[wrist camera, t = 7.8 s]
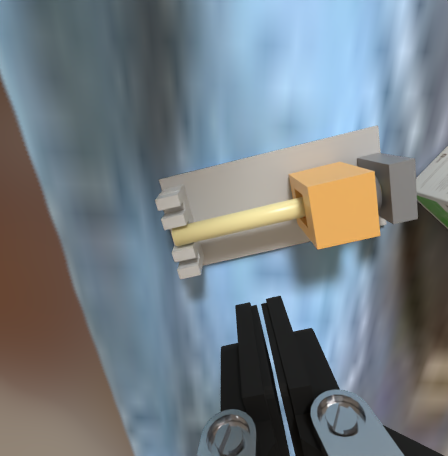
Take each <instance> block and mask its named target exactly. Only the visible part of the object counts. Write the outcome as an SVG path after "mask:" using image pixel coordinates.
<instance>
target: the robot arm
mask: <svg viewBox="0 0 448 456" xmlns="http://www.w3.org/2000/svg"><path fill="white" fill-rule="evenodd" d="M266 301H267V303H264V304H261V306H262V310H263V315H264V319H265V324H266V328H267V333H268V338H269V342H270V347H271V351H272V356H273V360H274V365H275V369H276V374H277V379H278V383H279V388H280V392H281V396H282V401H283V405H284V409H285V413H286V417H287V422H288V426H289V430H290V434H291V438H292V443H293V447H294V451H295V455H296V456H444V455H442V454H440V453H438V452H436V451H434V450H432V449H430V448H428V447H426V446H424V445H422V444H420V443H418V442H416V441H414V440H412V439H410V438H408V437H406V436H404V435H402V434H400V433H398V432H396V431H394V430H392V429H390V428H388V427H386V426H384V425H382V424H381V422H380V421H379V420H378V418H377V417H376V416H375V414H374V413H373V411H372V410H371V409H370V407H369V406H368V405H367V403H366V402H365V401H364V400H363V399H362V398H360V397H359V396H357V395H356V394H354V393H352V392H348V391H345V390H340V389H339V387H338V385H337V382H336V380H335V378H334V376H333V373H332V371H331V369H330V367H329V364H328V362H327V360H326V358H325V355H324V353H323V351H322V349H321V346H320V344H319V342H318V340H317V337H316V335H315V333H314V331H313V329H312V328H309V329H304V330H299V331H294V332H293V330H292V327H291V324H290V322H289V319H288V316H287V313H286V310H285V307H284V304H283V301H282V298H281V296H277V297H272V298H268V299H266ZM235 307H236V321H237V334H238V343H236V344H231V345H226V346H222V347H221V412H220V413H218V414H216V415H215V416H213V417H212V418H211V419H210V420H209V421H208V422H207V424H206V425H205V427H204V429H203V431H202V434H201V438H200V443H199V447H198V452H197V456H290V454H289V449H288V445H287V440H286V435H285V430H284V425H283V420H282V415H281V411H280V406H279V401H278V396H277V391H276V386H275V381H274V376H273V372H272V367H271V363H270V359H269V354H268V350H267V346H266V342H265V338H264V334H263V330H262V325H261V321H260V317H259V313H258V309H257V305H254V306H251V304H250V302H249V303H244V304H239V305H236V306H235Z"/></svg>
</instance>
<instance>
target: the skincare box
mask: <svg viewBox="0 0 448 456" xmlns="http://www.w3.org/2000/svg"><path fill="white" fill-rule="evenodd" d="M416 190H417V201H418V202H419V203H420V204H421V205H422V206H423V207H424V208H425V209H426V210H428V211H429V212H430V213H431V214H432V215H433V216H434V217H435V218H436V219H437V220H439V221H440V222H441V223H442V224H443V225H444V226H445V227H446V228H447V229H448V146H447V147H446V148H445V149H444V150H443V151H442V152H441V153H440V154H439V155H438V156H437V157H436V158H435V159H434V160H433V161H432V162H431V163H430V164H429V166H428V167H427V168H426V169H425V170H424V171H423V172H422V173H421V174H420V175H419V176H418V177H417V178H416Z"/></svg>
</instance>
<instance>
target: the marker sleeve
mask: <svg viewBox="0 0 448 456" xmlns="http://www.w3.org/2000/svg"><path fill="white" fill-rule="evenodd" d="M289 179H290V185H291V191H292V196H293V199H295V198H299V197H303V202H304V208H305V214H306V217H302V218H298V219H297V224H298V225H299V227H300V228H301V229H302V230H303V232H304V233H305V234H306V236H307V237H308V238H309V239H310V241H311V242H312V243H313V245H314V246H315V247H316V248H317V250H318V249H323V248H327V247H332V246H336V245H341V244H345V243H350V242H354V241H359V240H363V239H368V238H372V237H377V236H380V226H379V215H378V204H377V193H376V182H375V171H372V170H368V169H365V168H361V167H357V166H354V165H350V164H347V163H343V162H336V163H332V164H328V165H324V166H320V167H316V168H312V169H308V170H303V171H299V172H295V173H291V174H289Z"/></svg>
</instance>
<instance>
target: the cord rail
mask: <svg viewBox="0 0 448 456" xmlns="http://www.w3.org/2000/svg"><path fill="white" fill-rule="evenodd" d="M336 162H343V163H347V164H350V165H354V166H357V167H361V168H365V169H368V170H372V171H375V182H376V193H377V204H378V215H379V226H382V225H386V220H387V221H389V222H390V223H392V224H397V223H401V222H406V221H410V220H414V219H418V210H417V190H416V169H415V158H408V157H402V156H395V155H389V154H382V153H380V142H379V130H378V126H372V127H368V128H364V129H360V130H356V131H352V132H348V133H344V134H340V135H336V136H332V137H328V138H324V139H320V140H316V141H312V142H308V143H304V144H300V145H296V146H292V147H288V148H284V149H280V150H276V151H272V152H268V153H264V154H260V155H255V156H251V157H247V158H243V159H239V160H235V161H231V162H227V163H223V164H219V165H215V166H211V167H207V168H203V169H199V170H195V171H191V172H187V173H183V174H179V175H175V176H171V177H167V178H163V179H159V182H160V185H161V189H162V192H161V193H160V194H159V196H158V197H157V198H156V199H155V202H156V205H157V208H158V211H160V210H164V213H165V215H164V216H163V218H162V219H161V221H162V224H163V227H164V230H167V229H170V232H171V235H172V238H173V242H174V245H175V246H174V248H173V251H172V255H173V258H174V261H175V262H178V261H180V263H179V266H178V269H177V271H178V274H179V277H180V279H185V278H189V277H194V276H198V275H201V272H202V267H203V266H204V265H208V264H212V263H217V262H221V261H226V260H230V259H235V258H239V257H244V256H248V255H253V254H257V253H261V252H266V251H270V250H275V249H279V248H284V247H288V246H293V245H297V244H302V243H306V242H310V239H309V238H308V237H307V236H306V234H305V233H304V232H303V230H302V229H301V228H300V227H299V225H298V224H297V219H298V218H302V217H306V214H305V208H304V202H303V197H299V198H295V199H293V196H292V191H291V185H290V179H289V174H291V173H295V172H299V171H303V170H308V169H312V168H316V167H320V166H324V165H328V164H332V163H336Z"/></svg>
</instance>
